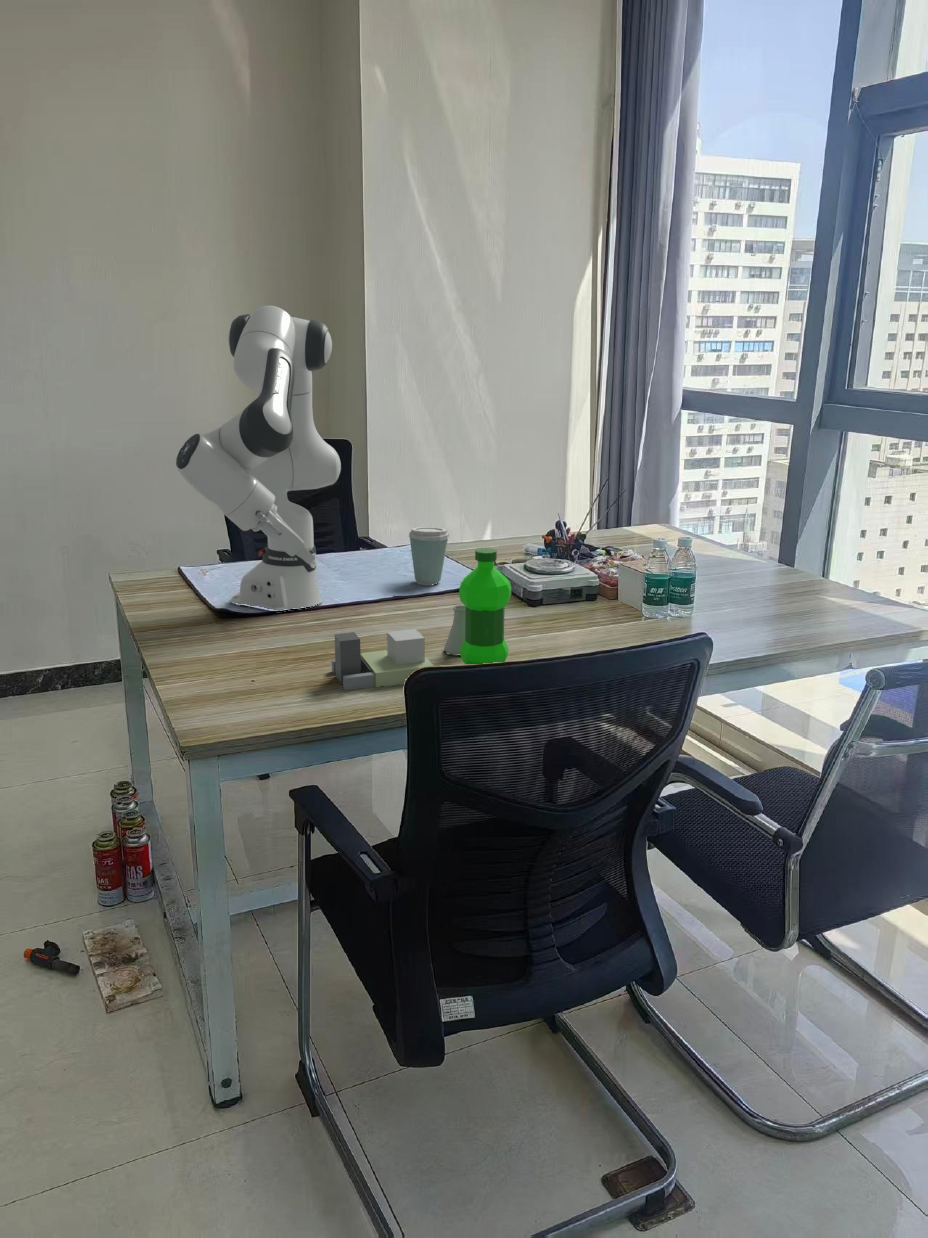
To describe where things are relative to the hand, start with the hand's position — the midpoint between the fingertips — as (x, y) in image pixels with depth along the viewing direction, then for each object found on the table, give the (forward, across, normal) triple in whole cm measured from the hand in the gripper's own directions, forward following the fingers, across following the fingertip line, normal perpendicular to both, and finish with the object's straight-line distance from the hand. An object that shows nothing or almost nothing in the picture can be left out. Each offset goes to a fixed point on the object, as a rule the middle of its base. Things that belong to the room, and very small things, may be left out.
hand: (306, 554), depth 189 cm
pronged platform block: (+28, -4, +7) cm, 29 cm away
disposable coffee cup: (+50, +57, -14) cm, 77 cm away
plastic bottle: (+42, -8, -7) cm, 43 cm away
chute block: (+23, -4, +13) cm, 26 cm away
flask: (+42, +4, -6) cm, 42 cm away
